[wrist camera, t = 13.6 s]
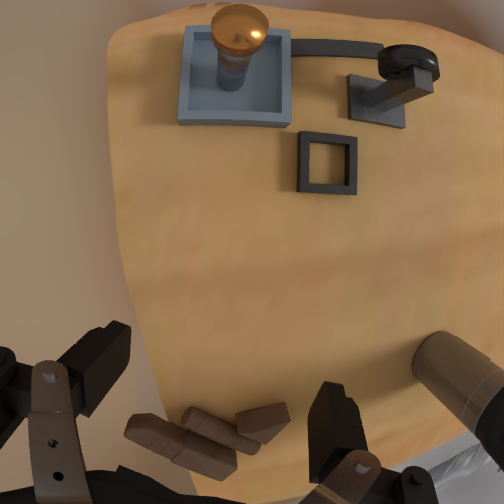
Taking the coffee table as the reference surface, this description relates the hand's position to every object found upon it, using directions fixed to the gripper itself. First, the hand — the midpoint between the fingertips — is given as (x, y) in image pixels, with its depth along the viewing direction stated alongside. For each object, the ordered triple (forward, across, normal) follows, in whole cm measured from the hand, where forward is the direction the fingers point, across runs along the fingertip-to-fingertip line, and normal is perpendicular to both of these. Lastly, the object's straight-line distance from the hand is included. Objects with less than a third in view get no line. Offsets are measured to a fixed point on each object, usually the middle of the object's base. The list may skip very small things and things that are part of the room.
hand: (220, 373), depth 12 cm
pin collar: (+28, -5, -10) cm, 30 cm away
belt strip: (+29, -3, -26) cm, 39 cm away
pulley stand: (+30, -9, -20) cm, 37 cm away
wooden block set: (+23, +1, +27) cm, 35 cm away
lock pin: (+25, +8, -17) cm, 32 cm away
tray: (+26, +8, -17) cm, 32 cm away
